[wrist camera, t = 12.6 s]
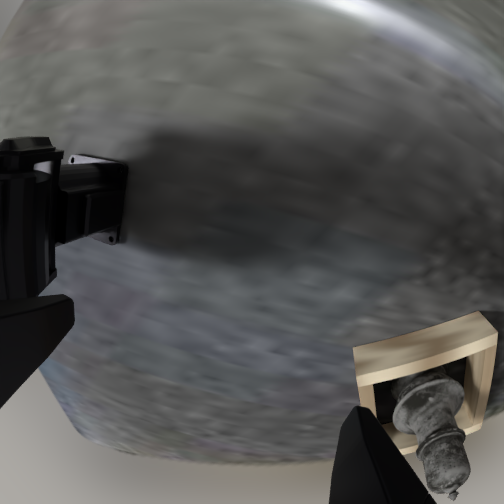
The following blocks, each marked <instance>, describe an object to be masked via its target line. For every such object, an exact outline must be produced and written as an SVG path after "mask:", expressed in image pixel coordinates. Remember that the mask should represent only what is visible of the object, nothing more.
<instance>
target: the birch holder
mask: <svg viewBox="0 0 504 504" xmlns="http://www.w3.org/2000/svg"><path fill="white" fill-rule="evenodd" d="M497 338H498V332H497V331H496V329H495V328H494V327H493V326H492V325H491V324H490V323H489V322H488V321H487V319H486V318H485V317H484V316H483V315H482V314H481V313H480V312H479V311H476V312H474V313H471V314H468V315H465V316H462V317H459V318H457V319H454V320H451V321H448V322H445V323H441V324H438V325H435V326H432V327H429V328H425V329H422V330H419V331H415V332H412V333H408V334H405V335H401V336H397V337H394V338H390V339H386V340H382V341H378V342H374V343H370V344H366V345H362V346H357V347H353V353H354V362H355V370H356V378H357V384H358V390H359V396H360V403H361V406H363V407H367V408H369V409H370V410H371V411H372V412H373V414H374V415H375V417H376V408H375V399H374V391H373V384H375V383H379V382H384V381H388V380H392V379H396V378H399V377H403V376H407V375H410V374H414V373H417V372H421V371H424V370H427V369H431V368H434V367H437V366H440V365H443V364H446V363H449V362H452V361H455V360H458V359H461V358H463V357H466V356H467V357H466V369H465V379H464V393H465V396H464V402H463V404H462V406H461V408H460V410H459V411H458V413H457V414H456V415H455V416H454V418H455V420H456V423H457V425H458V428H460V429H462V430H463V431H464V432H465V435H467V434H470V433H472V432H475V431H477V430H480V428H481V425H482V421H483V418H484V414H485V410H486V405H487V401H488V396H489V391H490V386H491V381H492V375H493V369H494V363H495V355H496V347H497ZM382 426H383V428H384V429H385V431H386V432H387V434H388V435H389V436H390V438H391V439H392V441H393V442H394V444H395V445H396V446H397V448H398V449H399V451H400V452H401V453H402V455H404V454H408V453H411V452H416V450H417V448H418V442H417V438H416V435H410V434H405V433H403V432H400V431H399V430H398V429H397V428H396V427H395V425H394V423H393V422H391V423H387V424H383V425H382Z"/></svg>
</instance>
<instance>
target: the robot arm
mask: <svg viewBox="0 0 504 504" xmlns="http://www.w3.org/2000/svg"><path fill="white" fill-rule="evenodd" d="M63 155H64V150H57V149H56V147H53V146H52V144H51V142H50V139H49V137H17V138H9V139H4V140H3V141H2V142H1V143H0V409H1V407H2V406H3V405H4V404H5V403H6V402H7V401H8V400H9V398H10V397H11V396H12V395H13V394H14V393H15V392H16V391H17V390H18V389H19V387H20V386H21V385H22V384H23V383H24V382H25V381H26V380H27V379H28V378H29V377H30V375H32V374H33V372H34V371H35V370H36V369H37V368H38V367H39V366H40V365H41V364H42V363H43V362H44V361H45V360H46V359H47V358H48V357H49V355H50V354H51V353H52V352H53V351H54V349H55V348H56V347H57V346H58V344H59V343H60V342H61V341H62V339H63V338H64V337H65V336H66V334H67V333H68V332H69V331H70V329H71V328H72V327H73V325H74V322H75V315H74V302H73V300H72V299H71V298H70V297H68V296H66V295H64V294H60V295H50V296H40V297H38V295H39V294H40V293H41V292H42V291H43V290H44V289H45V288H46V287H47V286H48V285H49V284H50V283H51V282H52V281H53V280H54V279H55V278H56V277H57V269H56V268H55V247H57V246H59V245H62V244H66V243H69V242H71V241H74V240H77V239H80V238H83V237H87V236H88V237H91V238H93V239H96V240H99V241H101V242H104V243H106V244H109V245H115V244H117V243H118V241H119V234H120V224H121V220H122V212H123V204H124V197H125V187H126V180H127V174H128V166H127V165H126V164H124V163H120V162H115V161H109V160H104V159H99V158H94V157H88V156H83V155H77V154H76V155H71V156H70V158H69V164H66V165H61V159H63ZM74 159H75V161H74ZM121 167H122V169H123V171H122V173H121V170H120V169H121ZM112 237H113V239H114V241H113V240H112ZM329 504H437V503H436V502H435V501H434V499H433V498H432V496H431V495H430V494H428V491H427V489H426V488H425V486H424V485H423V483H422V482H421V481H420V479H419V478H418V476H417V475H416V473H415V472H414V471H413V469H412V468H411V466H410V465H409V463H408V462H407V461H406V459H405V458H404V456H403V455H402V453H401V452H400V451H399V449H398V448H397V446H396V445H395V444H394V442H393V441H392V439H391V438H390V436H389V435H388V434H387V432H386V431H385V429H384V428H383V426H382V425H381V424H380V422H379V421H378V419H377V418H376V417H375V415H374V414H373V412H372V411H371V410H370V409H369V408H367V407H363V406H355V407H354V408H353V409H352V411H351V412H350V414H349V415H348V417H347V418H346V420H345V421H344V423H343V424H342V427H341V430H340V435H339V441H338V446H337V451H336V456H335V461H334V466H333V471H332V478H331V487H330V497H329Z"/></svg>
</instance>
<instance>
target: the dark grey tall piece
mask: <svg viewBox="0 0 504 504" xmlns="http://www.w3.org/2000/svg"><path fill="white" fill-rule="evenodd" d="M390 388H391V394H392V396H393V398H394V399H395V400H396V401H397V404H396V407H395V410H394V413H393V423H394V425H395V427H396V428H397V429H398V430H399V431H400V432H403V433H405V434H410V435H416V438H417V442H418V448H417V450H416V457H417V459H418V460H420V461H423V465H424V470H425V476H426V481H427V486H428V488H429V490H430V491H432V492H434V493H437V494H443V493H449V496H448V498H450V499H451V500H453V501H454V500H455V499H456V497H457V495H458V494H459V493H458V492H456V490H457V489H458V488H459V487H460V486H461V485H463V484H464V483H465V481H466V480H467V479H468V477H469V475H470V464H469V461H468V458H467V455H466V452H465V449H464V446H463V442H464V440H465V437H466V435H465V432H464V431H463V430H462V429H460V428H458V425H457V423H456V420H455V418H454V416H455V415H456V414H457V413H458V411H459V410H460V408H461V406H462V404H463V402H464V396H465V393H464V388H463V387H462V385H461V384H460V383H459V382H457V381H455V380H454V379H452V378H451V377H449V369H448V366H447V363H446V364H443V365H440V366H437V367H434V368H431V369H427V370H424V371H421V372H417V373H414V374H410V375H407V376H403V377H399V378H396V379H392V382H391V386H390Z"/></svg>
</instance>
